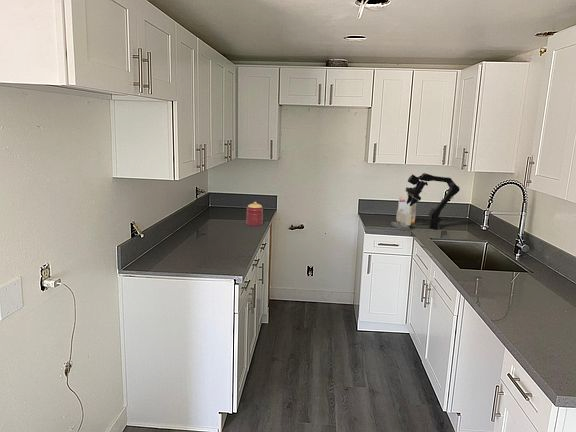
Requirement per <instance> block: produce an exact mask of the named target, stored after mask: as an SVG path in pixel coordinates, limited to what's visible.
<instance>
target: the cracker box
mask: <svg viewBox="0 0 576 432" xmlns="http://www.w3.org/2000/svg"><path fill="white" fill-rule="evenodd" d="M407 200H408V197H402V196H401V197H400V196H399V197H398V204H397V205H398V206H397V210H403V211H404V212H406V213H408V214H410V215H411V224H415V221H416V213H417V212H416V211H417V203H418V202H416V203H415V204H413V205H412V206H409V205H410V203H411V202H410V203H409V204H406V203H407ZM396 222H399V221H397V220H396Z"/></svg>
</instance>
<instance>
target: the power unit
mask: <svg viewBox="0 0 576 432" xmlns="http://www.w3.org/2000/svg"><path fill="white" fill-rule="evenodd" d="M390 223H391V224H390V225H391V226H392V227H393V226H394V228H395V227H396V228H395V229H397V230H398V231H410V229H411V227H410V225H404V224H402V223H401V222H397V221H391V222H390Z"/></svg>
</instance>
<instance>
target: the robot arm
mask: <svg viewBox="0 0 576 432" xmlns="http://www.w3.org/2000/svg"><path fill="white" fill-rule="evenodd" d="M407 182H408V183H410V184H411V185H413V187H411V186H410V187H405V192H406V193H407V194H406V195H407V198H408V200H407V203H406V204H409V203H410V202H411V203H410V205H409V206H412V205H413V204H415V203H416V202H417V203H418V202H419V201H420V202H421V200H422V197H421V196H420V194H421V193H422V192H423V189H424V188H425V186H429V184H428V182H440V183H446V184H447V186H448V187H449V188H448V189H447V192H446V195H445V196H444V197H443V198H442V199H441V201H440V202H439V203H438V204H437V206H436V207H434V208H433V207H432V208H431V210H430V211H429V212H428V216H429V218H430V222H429V227H428V229H430V230H431V229H432V230H440V229H441V227H440V223H441V221H442V218H440V216H441V212H442V210H443V209H444V208H445V207H446V205H447V204H448V203H449V201H450V200H451V198H452V197H454V196H455V195H457V194H458V193H459V192H460V190H461V189H460V187H459V185H457V184H456V182H455V181H454V180H453V179H452V178H451V177H446V176H438V175H437V176H436V175H432V174H429V173H426V172H424V173H421V175H419V176H416V175H415V174H413V173H412V174H411V175H410V176H409V177H408V179H407ZM417 203H416V204H417Z"/></svg>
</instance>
